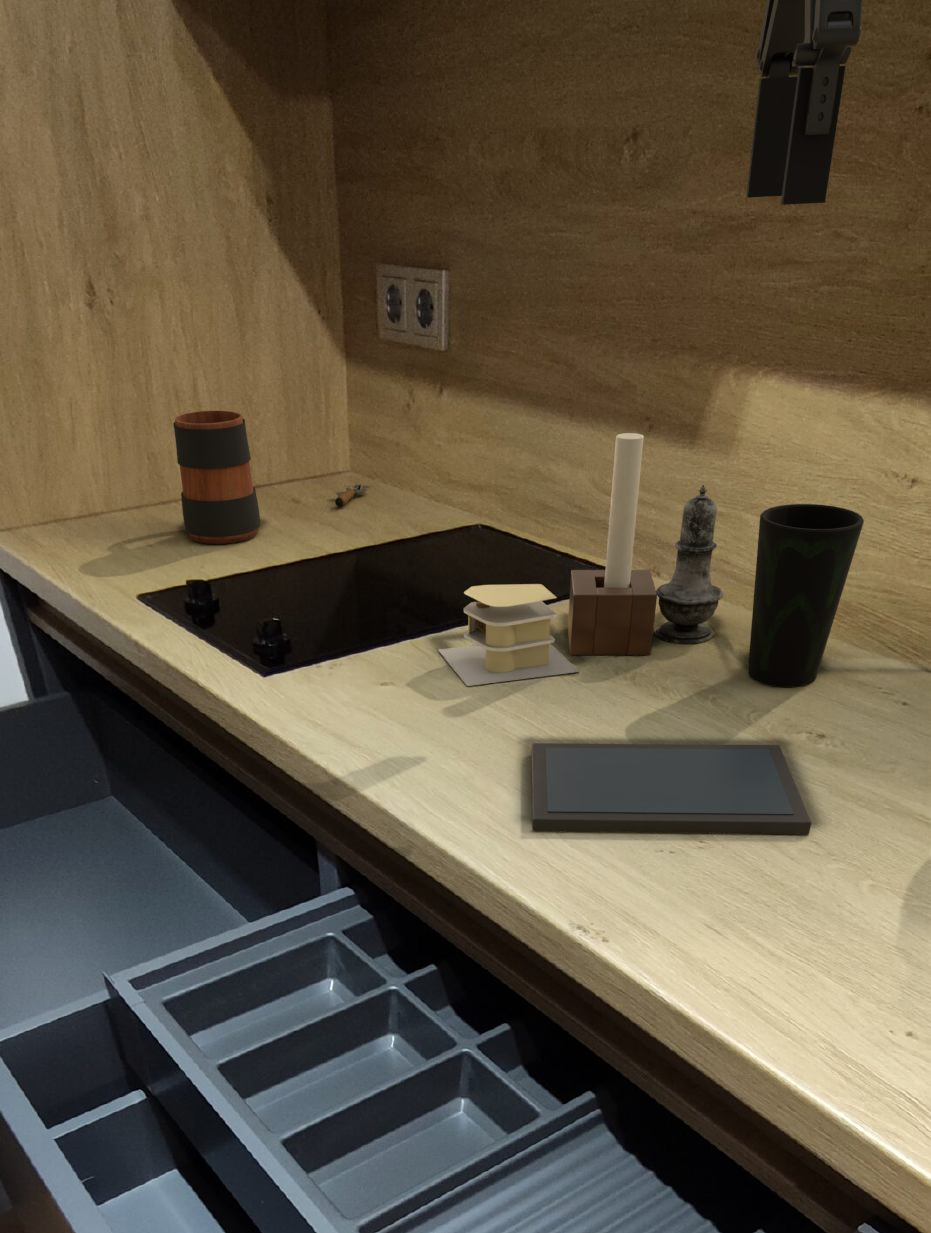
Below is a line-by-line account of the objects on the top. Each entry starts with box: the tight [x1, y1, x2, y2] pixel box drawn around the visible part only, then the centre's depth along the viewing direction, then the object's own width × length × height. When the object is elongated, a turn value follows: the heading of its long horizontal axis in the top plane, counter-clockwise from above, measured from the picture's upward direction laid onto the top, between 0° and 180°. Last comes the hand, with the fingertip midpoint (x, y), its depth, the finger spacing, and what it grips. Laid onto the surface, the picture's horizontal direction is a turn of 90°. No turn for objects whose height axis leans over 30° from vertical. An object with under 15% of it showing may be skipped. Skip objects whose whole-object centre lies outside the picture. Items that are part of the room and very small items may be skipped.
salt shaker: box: [654, 484, 724, 645], centre depth 96 cm, size 6×6×12 cm
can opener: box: [334, 482, 368, 508], centre depth 138 cm, size 9×2×1 cm, turn 160°
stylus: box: [604, 432, 645, 588], centre depth 94 cm, size 2×2×16 cm
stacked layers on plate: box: [437, 583, 581, 687], centre depth 94 cm, size 10×9×6 cm
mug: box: [172, 410, 261, 545], centre depth 125 cm, size 9×12×12 cm
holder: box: [567, 569, 658, 656], centre depth 98 cm, size 7×7×5 cm
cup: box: [747, 503, 865, 688], centre depth 89 cm, size 8×8×12 cm
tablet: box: [530, 742, 812, 835], centre depth 77 cm, size 18×12×1 cm, turn 86°
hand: (782, 200), depth 78 cm, fingers open, 13 cm apart
